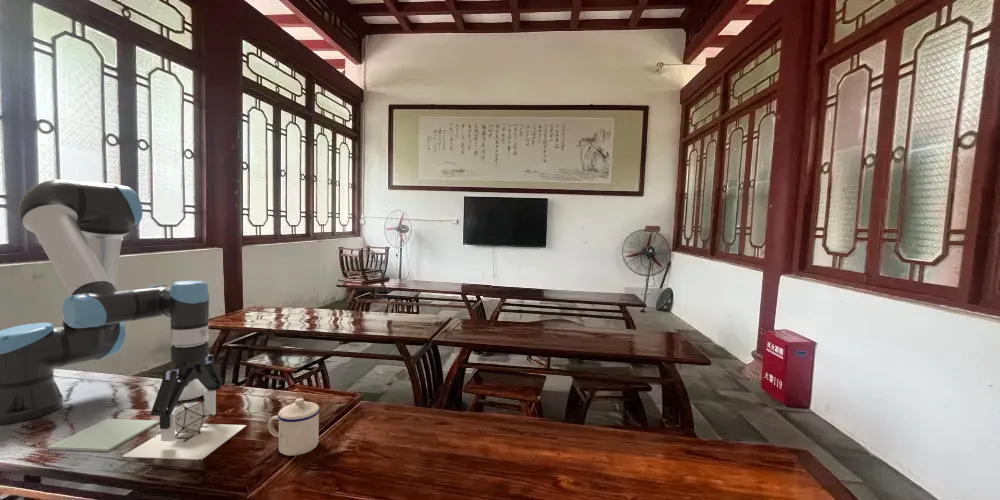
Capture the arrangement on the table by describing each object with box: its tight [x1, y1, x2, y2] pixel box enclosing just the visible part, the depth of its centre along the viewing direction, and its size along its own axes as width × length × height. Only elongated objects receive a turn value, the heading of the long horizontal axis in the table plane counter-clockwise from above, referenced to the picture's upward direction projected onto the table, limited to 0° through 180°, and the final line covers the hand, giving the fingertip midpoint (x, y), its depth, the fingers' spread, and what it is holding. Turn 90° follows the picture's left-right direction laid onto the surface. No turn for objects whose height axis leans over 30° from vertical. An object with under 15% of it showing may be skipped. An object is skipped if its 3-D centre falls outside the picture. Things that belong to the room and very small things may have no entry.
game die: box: [174, 398, 214, 437], centre depth 102 cm, size 9×8×10 cm
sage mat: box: [47, 418, 160, 453], centre depth 100 cm, size 14×14×1 cm
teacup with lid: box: [267, 397, 321, 457], centre depth 98 cm, size 12×9×12 cm
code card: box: [121, 423, 247, 461], centre depth 99 cm, size 18×16×1 cm
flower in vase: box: [177, 379, 208, 402], centre depth 124 cm, size 13×11×25 cm
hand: (190, 426), depth 102 cm, fingers open, 13 cm apart
